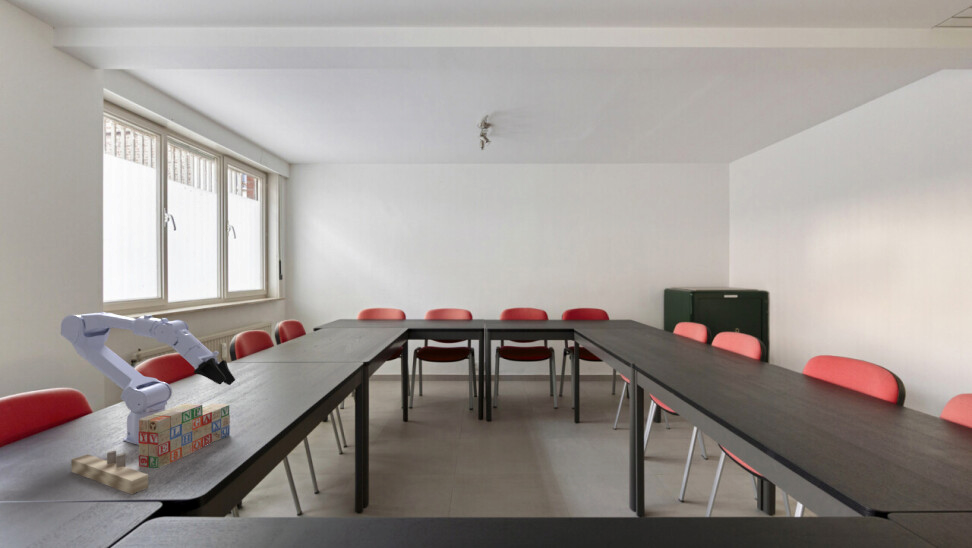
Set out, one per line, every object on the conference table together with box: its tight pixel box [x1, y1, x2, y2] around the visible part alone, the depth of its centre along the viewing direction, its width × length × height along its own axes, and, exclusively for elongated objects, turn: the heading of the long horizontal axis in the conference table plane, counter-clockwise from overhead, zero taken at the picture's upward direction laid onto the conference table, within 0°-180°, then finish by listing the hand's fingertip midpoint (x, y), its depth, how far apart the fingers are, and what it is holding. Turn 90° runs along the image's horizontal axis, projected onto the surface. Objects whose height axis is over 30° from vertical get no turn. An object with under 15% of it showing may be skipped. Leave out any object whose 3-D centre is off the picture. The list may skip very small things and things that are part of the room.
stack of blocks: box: [138, 403, 231, 469], centre depth 108 cm, size 21×6×12 cm, turn 168°
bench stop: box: [70, 450, 149, 495], centre depth 93 cm, size 26×4×6 cm, turn 68°
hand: (227, 382), depth 115 cm, fingers open, 7 cm apart
